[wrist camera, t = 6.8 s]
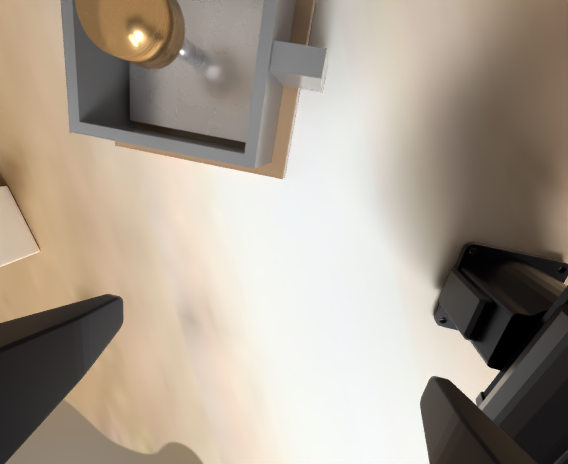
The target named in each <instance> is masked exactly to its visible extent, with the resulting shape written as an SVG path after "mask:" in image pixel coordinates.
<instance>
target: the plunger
mask: <svg viewBox="0 0 568 464" xmlns="http://www.w3.org/2000/svg"><path fill="white" fill-rule="evenodd" d="M263 2H264V0H75V3H76V9H77V14H78V17H79V20H80V22H81V25H82V27H83V29H84V31H85V32H86V34H87V35H88V37H89V38H90V39H91V40H92V42H93V43H94V44H95V45H96V46H98V47H99V48H100V49H101V50H103V51H105V52H107V53H109V54H112V55H114V56H116V57H119V58H121V59H124V60H126V61H129V62H130V120H131V121H137V122H142V123H147V124H152V125H157V126H163V127H168V128H173V129H178V130H184V131H189V132H194V133H199V134H205V135H210V136H215V137H220V138H225V139H231V140H236V141H241V142H246V137H247V129H248V121H249V113H250V105H251V97H252V89H253V81H254V73H255V66H256V58H257V50H258V42H259V34H260V26H261V18H262V10H263Z"/></svg>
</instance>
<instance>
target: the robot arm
mask: <svg viewBox="0 0 568 464" xmlns="http://www.w3.org/2000/svg"><path fill="white" fill-rule="evenodd" d="M471 248H475V249H474V251H473V252H471V253H469V250H470V249H471ZM561 266H562V267H561ZM559 267H561V269H560V270H558V271H557V269H558V268H559ZM567 276H568V264H567V263H565V262H563V261H560V260H555V259H551V258H546V257H541V256H536V255H531V254H526V253H522V252H517V251H512V250H507V249H502V248H498V247H493V246H488V245H483V244H478V243H474V242H470V243H467V244H465V245H464V246H463V248H462V251H461V253H460V255H459V258H458V260H457V263H456V265H455V267H454V269H453V270H451V271H450V273H449V276H448V278H447V281H446V283H445V286H444V288H443V290H442V293H441V295H440V298H439V306H438V308H437V311H436V313H435V315H434V319H435V321H436V323H437V324H438V325H439V326H442V327H446V328H451V329H455V330H459V331H460V333H461V334H462V336H463V337H464V339H466V340H470V342H471V343H472V344H473V346H474V347H475V349H476V350H477V351H478V353H479V354H480V356H481V357H482V358H483V360H484V361H485V363H486V364H487V365H488V367H490V368H493V369H497V370H500V372H499V374H498V375H497V376H496V378H495V379H494V380H493V381H492V383H491V384H490V385H489V386H488V388H487V389H486V390H485V392H481V393H480V394H479V395H478V397H477V398H476V404H477V406H476V405H475V404H474V403H473V402H472V401H471V400H470V399H469V398H468V397H467V396H466V395H465V394H464V393H463V392H461V391H460V390H459V389H458V388H457V387H456V386H455V385H454V384H453V383H452V382H451V381H450V380H448V379H445V378H441V377H437V376H432V377H431V378H430V379H429V381H428V384H427V386H426V388H425V390H424V392H423V395H422V397H421V401H420V408H421V414H422V420H423V426H424V432H425V438H426V444H427V451H428V457H429V462H430V464H568V286H567V285H565V284H563V283H564V282H565V280H566V278H567ZM441 318H445V319H444V320H440V319H441ZM122 324H123V299H122V298H121V297H120V296H116V295H112V294H105V295H102V296H98V297H94V298H91V299H87V300H83V301H80V302H76V303H72V304H69V305H65V306H61V307H58V308H54V309H51V310H47V311H43V312H40V313H36V314H32V315H29V316H25V317H21V318H18V319H14V320H10V321H7V322H3V323H0V464H5V463H6V462H7V461H8V460H9V458H10V457H11V456H12V455H13V454H14V453H15V452H16V451H17V449H19V447H20V446H21V445H22V444H23V443H24V442H25V441H26V440H27V438H28V437H29V436H30V435H31V434H32V433H33V432H34V431H35V430H36V429H37V427H38V426H39V425H40V424H41V423H42V422H43V421H44V420H45V419H46V418H47V416H48V415H49V414H50V413H51V412H52V411H53V410H54V409H55V408H56V406H57V405H58V404H59V403H60V402H61V401H62V400H63V399H64V398H65V397H66V395H67V394H68V393H69V392H70V391H71V390H72V389H73V388H74V387H75V385H76V384H77V383H78V382H79V381H80V380H81V379H82V377H83V376H84V375H85V374H86V373H87V371H88V370H89V369H90V368H91V366H92V365H93V364H94V363H95V361H96V360H97V359H98V357H99V356H100V355H101V353H102V352H103V351H104V349H105V348H106V347H107V345H108V344H109V343H110V341H111V340H112V339H113V337H114V336H115V335H116V333H117V332H118V331H119V329H120V328H121V326H122Z"/></svg>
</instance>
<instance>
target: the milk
mask: <svg viewBox="0 0 568 464" xmlns="http://www.w3.org/2000/svg"><path fill="white" fill-rule="evenodd" d="M38 252H40V250H39V248H38V246H37V244H36V242H35V240H34V238H33V236H32V234H31V232H30V230H29V228H28V226H27V224H26V222H25V220H24V218H23V216H22V214H21V212H20V210H19V208H18V206H17V204H16V202H15V200H14V198H13V196H12V194H11V192H10V190H9V188H8V187H7V186H1V187H0V267H1V266H4V265H6V264H9V263H12V262H14V261H17V260H20V259H22V258H25V257H28V256H30V255H33V254H36V253H38Z"/></svg>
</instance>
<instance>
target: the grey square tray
mask: <svg viewBox="0 0 568 464" xmlns="http://www.w3.org/2000/svg"><path fill="white" fill-rule="evenodd" d="M315 2H316V0H264V2H263V10H262V18H261V26H260V34H259V42H258V50H257V58H256V66H255V73H254V81H253V89H252V97H251V105H250V113H249V121H248V129H247V137H246V142H241V141H236V140H231V139H225V138H220V137H215V136H210V135H205V134H199V133H194V132H189V131H184V130H178V129H173V128H168V127H163V126H157V125H152V124H147V123H142V122H137V121H131V120H130V62H129V61H126V60H124V59H121V58H119V57H116V56H114V55H112V54H109V53H107V52H105V51H103V50H101V49H100V48H99V47H98V46H96V45H95V44H94V43H93V42H92V40H91V39H90V38H89V37H88V35H87V34H86V32H85V31H84V29H83V27H82V25H81V22H80V20H79V17H78V14H77V9H76V3H75V0H61V13H62V27H63V42H64V56H65V70H66V84H67V98H68V113H69V127H70V132H73V133H78V134H83V135H88V136H93V137H98V138H103V139H109V140H114V141H115V146H120V147H125V148H130V149H135V150H140V151H145V152H150V153H155V154H160V155H165V156H170V157H175V158H180V159H185V160H190V161H195V162H200V163H205V164H210V165H215V166H220V167H225V168H230V169H235V170H240V171H245V172H250V173H255V174H260V175H265V176H270V177H275V178H280V179H283V178H285V173H286V168H287V162H288V156H289V150H290V145H291V139H292V133H293V128H294V122H295V116H296V111H297V105H298V99H299V93H300V89H306V90H312V91H318V92H323V88H324V83H325V78H326V73H327V49H326V48H320V47H313V46H308V42H309V37H310V31H311V25H312V19H313V14H314V8H315Z"/></svg>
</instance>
